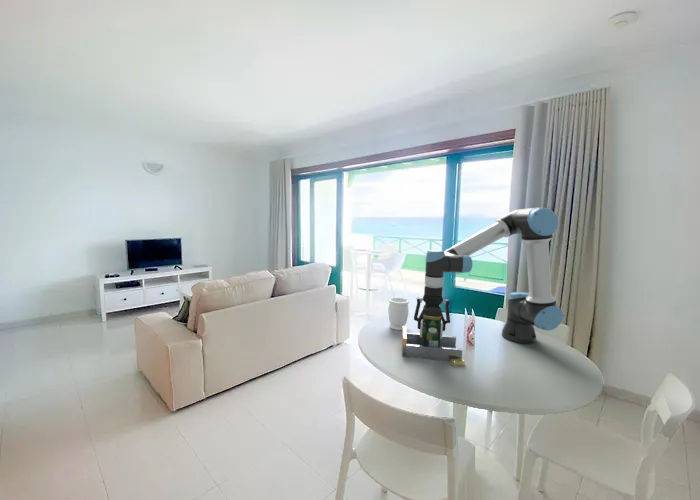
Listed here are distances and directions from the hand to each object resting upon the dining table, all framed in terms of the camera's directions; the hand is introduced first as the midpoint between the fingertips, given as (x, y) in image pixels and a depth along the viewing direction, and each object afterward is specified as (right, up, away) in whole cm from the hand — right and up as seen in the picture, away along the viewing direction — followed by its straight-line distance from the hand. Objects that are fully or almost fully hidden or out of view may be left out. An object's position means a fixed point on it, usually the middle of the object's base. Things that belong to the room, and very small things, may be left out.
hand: (430, 336), depth 135 cm
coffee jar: (0, -4, 0) cm, 4 cm away
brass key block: (+8, -8, -10) cm, 16 cm away
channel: (0, -7, +1) cm, 7 cm away
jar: (-10, -3, +29) cm, 31 cm away
